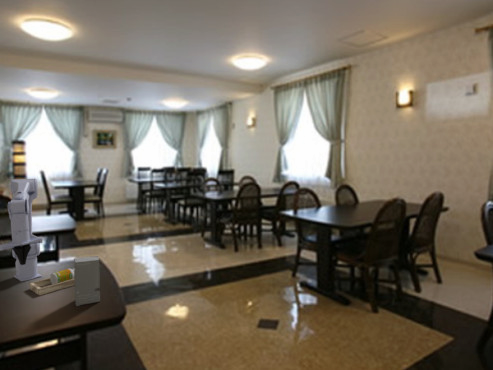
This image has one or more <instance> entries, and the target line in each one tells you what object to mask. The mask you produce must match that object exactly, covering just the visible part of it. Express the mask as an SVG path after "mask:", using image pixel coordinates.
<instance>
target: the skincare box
mask: <svg viewBox="0 0 493 370" xmlns="http://www.w3.org/2000/svg"><path fill="white" fill-rule="evenodd" d="M73 263H74V265H73V266H74V267H73V269H74V274H75V285H74V298H75V300H74V301H75V305H76V307H80V306H83V305H88V304H94V303H99V302H100V301H101V290H100V289H101V285H100V282H101V281H100V258H99V256H98V255H94V256H83V257H75V258H74V261H73Z"/></svg>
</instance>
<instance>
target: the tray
mask: <svg viewBox="0 0 493 370" xmlns="http://www.w3.org/2000/svg"><path fill="white" fill-rule="evenodd" d="M28 284H29V290H31V291H32V292H33V293H34V294H36V295H38V296H42V295H46V294H50V293H52V292H56V291H60V290H63V289H66V288H69V287H73V286H75V278H74V279H71V280H67V281H64V282H60V283H57V284H53V285H52V283H51V281H50V277H47V278H43V279H39V280H36V281H33V282H29V283H28Z"/></svg>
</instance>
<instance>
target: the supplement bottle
mask: <svg viewBox="0 0 493 370" xmlns="http://www.w3.org/2000/svg"><path fill="white" fill-rule="evenodd" d="M49 278H50V281H51V283H52V284H51V285H53V284H57V283H60V282H64V281H67V280H71V279H74V278H75V274H74V268H66V269H63V270H59V271H55V272H52V273H51V274H50V276H49Z"/></svg>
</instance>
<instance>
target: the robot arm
mask: <svg viewBox="0 0 493 370" xmlns="http://www.w3.org/2000/svg"><path fill="white" fill-rule="evenodd" d="M38 185H39V184H38V179H37V178H36V177H35V178H22V179H21V178H16V179H15V178H12V179H11V180H10V190H11V191H10V192H11V194H12V197H11V200H10V201H8V203H7V212H8V216H9V220H10V229H11V239H12V240H11V241H10V242H6V243H0V251H4V250H9V249H11V252H12V254H11V255H12V257H13V258H14V259H15V260H16V261H15V264H14V265H15V275H13V277H14V278H15V279H17V280H18V281H20V282H25V281H29V280H33V279H37V278H40V277H42V274H40V273H39V270H38V257H37V256H39V255H40V254H41V244H43V238H42V237H38V236H36V235H34V234H33V212H32V211H33V208H32V205H33V203H34V202H33V201H34V200H36V199H37V198H38V188H39V187H38Z"/></svg>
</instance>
